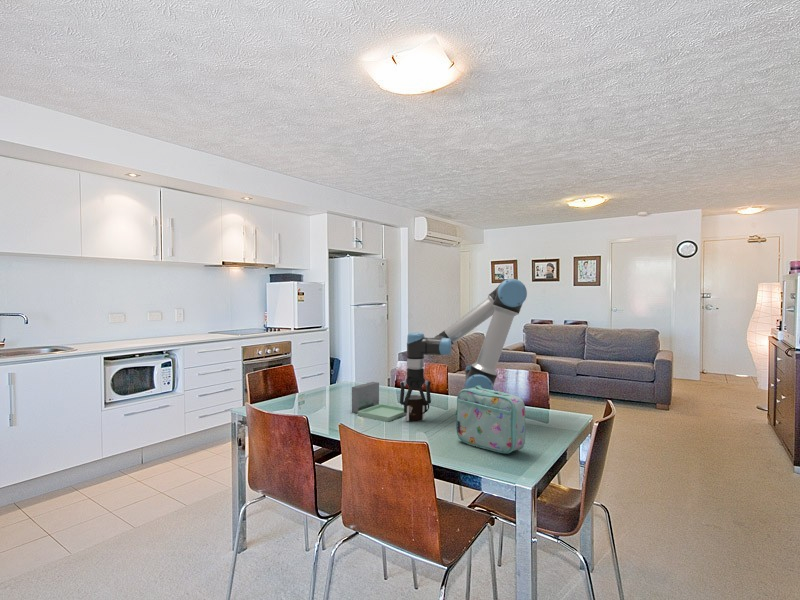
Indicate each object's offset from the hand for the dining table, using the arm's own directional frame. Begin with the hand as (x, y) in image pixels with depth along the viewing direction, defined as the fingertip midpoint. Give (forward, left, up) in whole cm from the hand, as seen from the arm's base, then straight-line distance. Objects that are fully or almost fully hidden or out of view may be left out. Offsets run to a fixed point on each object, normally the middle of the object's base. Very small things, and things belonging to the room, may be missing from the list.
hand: (415, 419), depth 196 cm
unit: (+30, -2, 0) cm, 30 cm away
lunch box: (-40, +13, -1) cm, 42 cm away
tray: (+17, 0, 0) cm, 17 cm away
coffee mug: (0, 0, 0) cm, 1 cm away
